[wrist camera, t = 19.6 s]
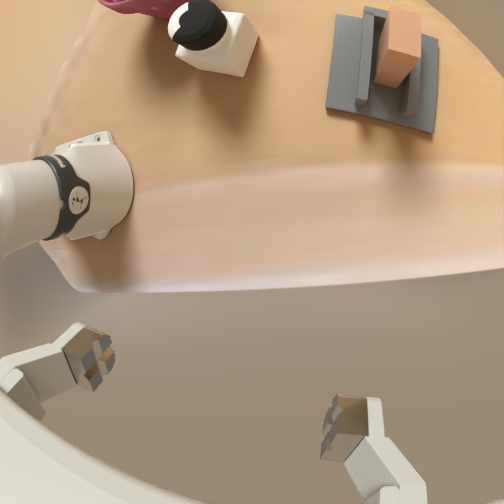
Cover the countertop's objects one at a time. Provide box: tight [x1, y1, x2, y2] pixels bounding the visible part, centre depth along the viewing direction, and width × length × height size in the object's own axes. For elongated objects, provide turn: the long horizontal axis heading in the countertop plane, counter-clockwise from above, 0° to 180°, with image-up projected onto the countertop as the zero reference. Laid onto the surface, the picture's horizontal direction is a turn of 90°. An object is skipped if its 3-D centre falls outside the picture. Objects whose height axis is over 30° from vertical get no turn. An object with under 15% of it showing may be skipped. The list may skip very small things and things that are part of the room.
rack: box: [325, 6, 438, 134], centre depth 27 cm, size 14×14×5 cm
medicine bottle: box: [168, 0, 259, 77], centre depth 28 cm, size 7×7×12 cm
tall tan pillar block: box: [373, 6, 421, 88], centre depth 23 cm, size 3×5×12 cm, turn 171°
